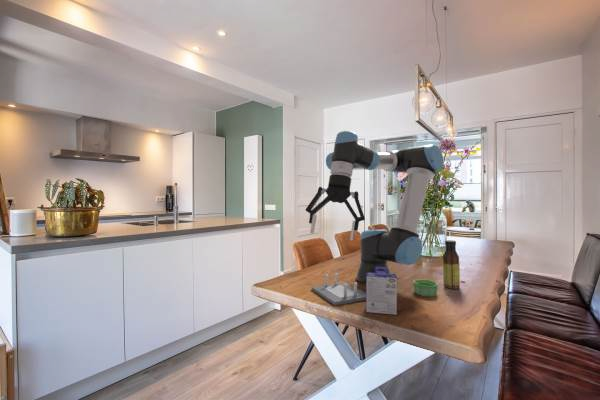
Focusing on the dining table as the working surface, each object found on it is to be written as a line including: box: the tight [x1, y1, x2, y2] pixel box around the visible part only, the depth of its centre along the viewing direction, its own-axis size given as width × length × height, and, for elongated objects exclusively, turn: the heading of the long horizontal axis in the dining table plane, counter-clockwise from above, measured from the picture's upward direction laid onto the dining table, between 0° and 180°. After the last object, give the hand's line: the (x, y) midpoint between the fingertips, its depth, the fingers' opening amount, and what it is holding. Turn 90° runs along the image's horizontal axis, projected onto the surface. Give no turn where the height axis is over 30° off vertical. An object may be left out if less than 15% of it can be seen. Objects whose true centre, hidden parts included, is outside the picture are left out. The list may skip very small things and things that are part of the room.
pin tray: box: [311, 272, 366, 306], centre depth 111 cm, size 16×18×6 cm
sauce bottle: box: [442, 239, 461, 290], centre depth 121 cm, size 7×6×20 cm
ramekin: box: [412, 278, 439, 298], centre depth 113 cm, size 9×9×4 cm
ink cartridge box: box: [365, 266, 398, 316], centre depth 95 cm, size 10×6×14 cm, turn 78°
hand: (331, 237), depth 97 cm, fingers open, 13 cm apart
